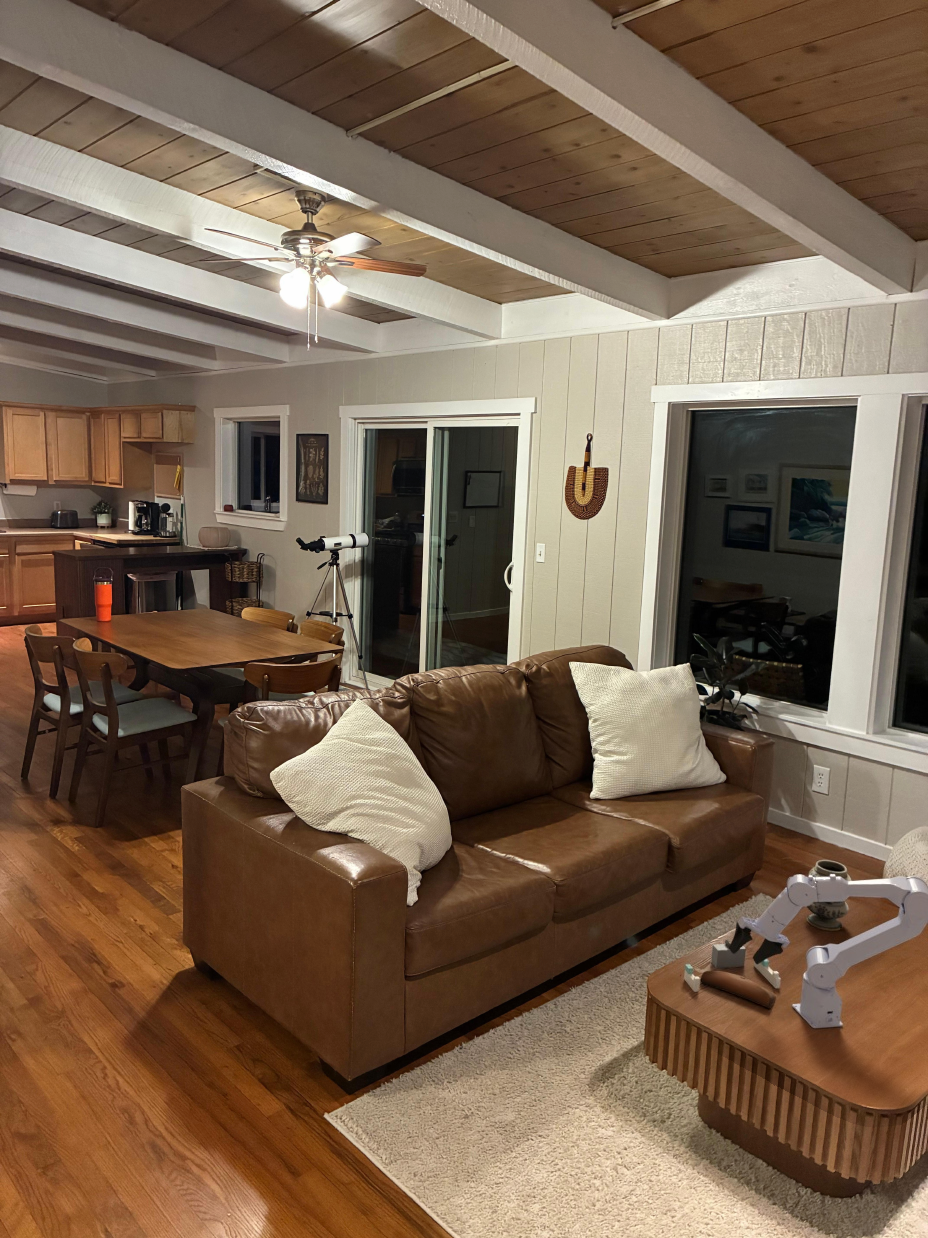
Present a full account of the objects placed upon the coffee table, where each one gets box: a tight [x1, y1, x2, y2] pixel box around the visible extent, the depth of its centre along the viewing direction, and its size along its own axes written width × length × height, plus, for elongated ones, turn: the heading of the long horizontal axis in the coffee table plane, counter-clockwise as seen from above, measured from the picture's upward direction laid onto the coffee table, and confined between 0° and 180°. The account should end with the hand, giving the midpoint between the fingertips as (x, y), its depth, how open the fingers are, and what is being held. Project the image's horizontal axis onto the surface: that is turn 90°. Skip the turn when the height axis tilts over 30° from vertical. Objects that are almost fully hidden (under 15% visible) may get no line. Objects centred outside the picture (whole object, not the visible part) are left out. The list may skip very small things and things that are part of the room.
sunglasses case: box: [699, 970, 778, 1010], centre depth 230 cm, size 18×7×7 cm
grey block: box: [710, 939, 747, 969], centre depth 242 cm, size 3×8×6 cm, turn 101°
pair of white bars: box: [683, 958, 782, 993], centre depth 235 cm, size 11×23×4 cm, turn 101°
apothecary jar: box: [806, 859, 852, 932], centre depth 267 cm, size 12×12×18 cm
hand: (743, 956), depth 224 cm, fingers open, 7 cm apart
